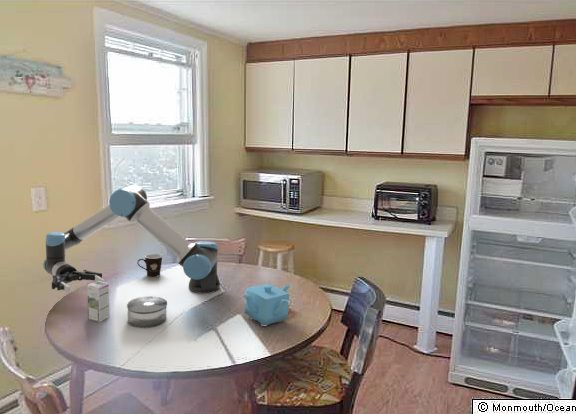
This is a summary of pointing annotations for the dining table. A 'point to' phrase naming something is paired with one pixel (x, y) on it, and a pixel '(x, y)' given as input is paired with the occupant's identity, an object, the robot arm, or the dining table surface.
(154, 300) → the cookie tin
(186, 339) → the dining table surface
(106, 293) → the syrup box
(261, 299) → the teakettle
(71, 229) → the robot arm
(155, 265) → the coffee mug
